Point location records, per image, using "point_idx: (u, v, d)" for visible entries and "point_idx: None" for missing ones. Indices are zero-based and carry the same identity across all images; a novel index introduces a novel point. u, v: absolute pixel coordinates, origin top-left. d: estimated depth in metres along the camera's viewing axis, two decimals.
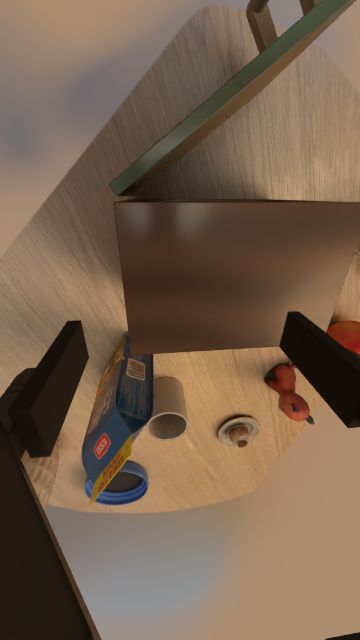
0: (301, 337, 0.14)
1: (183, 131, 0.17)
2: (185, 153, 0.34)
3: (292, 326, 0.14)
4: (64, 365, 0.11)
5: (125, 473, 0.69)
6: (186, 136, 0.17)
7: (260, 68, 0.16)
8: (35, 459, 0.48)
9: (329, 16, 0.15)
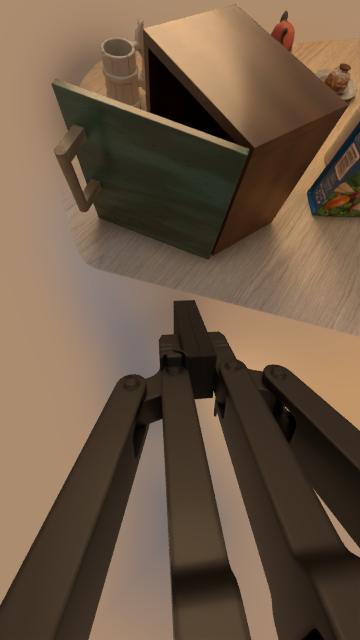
0: None
1: (189, 129, 0.25)
2: None
3: None
4: None
5: None
6: None
7: (134, 109, 0.25)
8: None
9: (93, 92, 0.25)
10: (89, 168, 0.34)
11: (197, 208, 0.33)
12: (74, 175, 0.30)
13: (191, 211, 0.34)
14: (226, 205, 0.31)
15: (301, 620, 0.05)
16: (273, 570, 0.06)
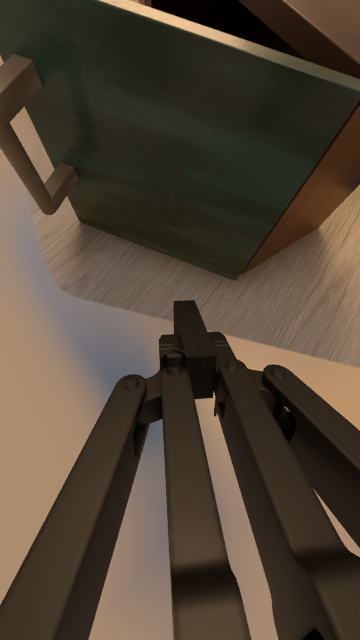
0: None
1: (238, 42, 0.12)
2: None
3: None
4: None
5: None
6: (239, 38, 0.12)
7: (123, 1, 0.12)
8: None
9: None
10: (55, 144, 0.21)
11: (231, 208, 0.20)
12: (20, 151, 0.17)
13: (220, 213, 0.21)
14: (286, 201, 0.18)
15: (301, 620, 0.05)
16: (273, 571, 0.06)
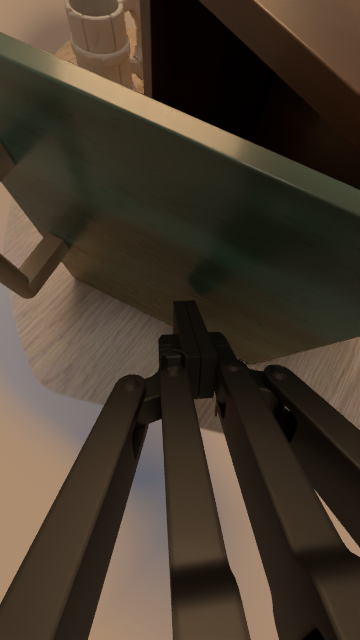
0: None
1: (311, 178, 0.07)
2: None
3: None
4: None
5: None
6: (313, 170, 0.07)
7: (124, 93, 0.07)
8: None
9: None
10: (40, 218, 0.16)
11: (258, 322, 0.15)
12: None
13: (243, 320, 0.16)
14: (338, 339, 0.13)
15: (302, 620, 0.05)
16: (273, 571, 0.06)
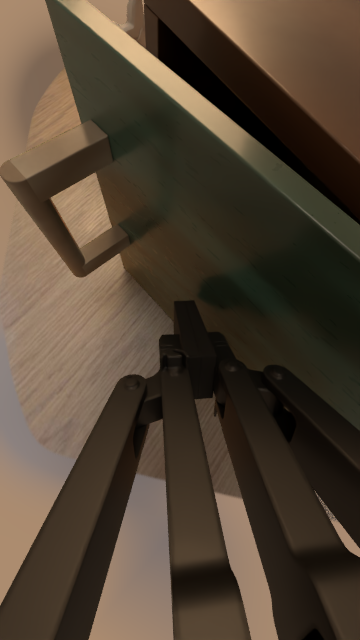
0: None
1: None
2: None
3: None
4: None
5: None
6: None
7: (239, 134, 0.07)
8: None
9: (141, 46, 0.08)
10: (116, 210, 0.17)
11: None
12: (54, 226, 0.13)
13: None
14: None
15: (301, 620, 0.05)
16: (272, 571, 0.06)
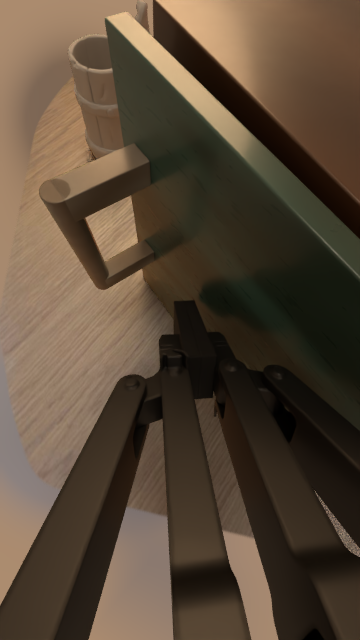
0: None
1: None
2: None
3: None
4: None
5: None
6: None
7: (297, 188, 0.07)
8: None
9: (200, 84, 0.08)
10: (145, 227, 0.17)
11: None
12: (84, 243, 0.13)
13: None
14: None
15: (301, 620, 0.05)
16: (272, 570, 0.06)
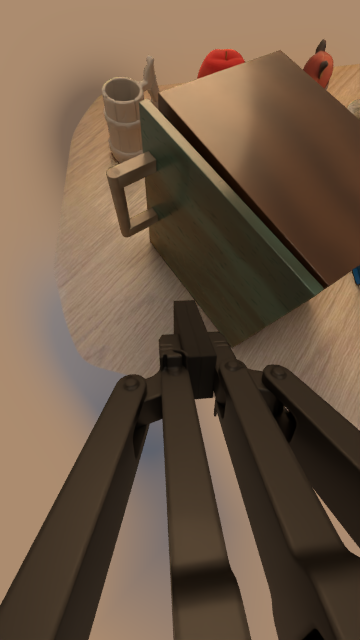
0: None
1: (258, 223, 0.18)
2: None
3: None
4: None
5: None
6: (261, 221, 0.18)
7: (208, 168, 0.19)
8: None
9: (176, 129, 0.20)
10: (152, 198, 0.29)
11: (237, 301, 0.26)
12: (122, 202, 0.25)
13: (230, 299, 0.27)
14: (269, 321, 0.23)
15: (301, 620, 0.05)
16: (273, 571, 0.06)
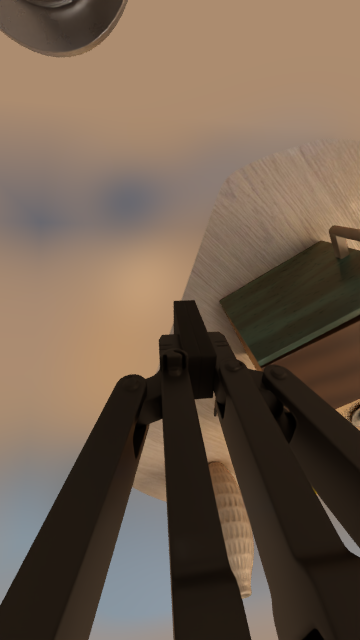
0: None
1: (306, 339, 0.30)
2: None
3: None
4: None
5: None
6: (307, 341, 0.30)
7: (354, 315, 0.29)
8: (226, 490, 0.65)
9: None
10: (356, 258, 0.35)
11: (256, 314, 0.38)
12: (358, 238, 0.31)
13: (258, 309, 0.39)
14: (241, 333, 0.37)
15: (301, 620, 0.05)
16: (273, 570, 0.06)
